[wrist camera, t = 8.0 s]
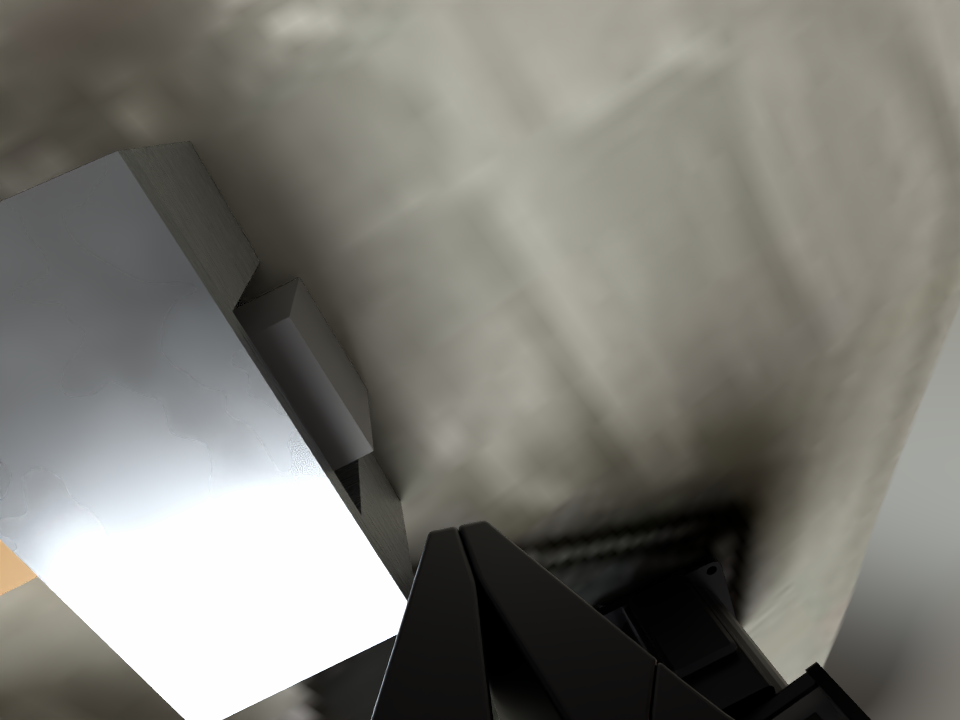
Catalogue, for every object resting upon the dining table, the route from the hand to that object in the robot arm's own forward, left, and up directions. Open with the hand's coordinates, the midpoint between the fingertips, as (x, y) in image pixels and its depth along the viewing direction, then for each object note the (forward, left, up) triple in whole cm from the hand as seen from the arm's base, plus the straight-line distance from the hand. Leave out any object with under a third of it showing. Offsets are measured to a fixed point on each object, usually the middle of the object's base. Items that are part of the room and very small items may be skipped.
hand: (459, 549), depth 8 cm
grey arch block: (0, +6, -12) cm, 14 cm away
